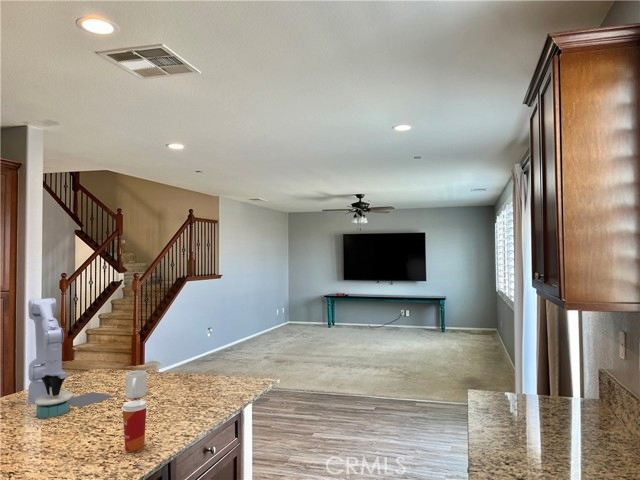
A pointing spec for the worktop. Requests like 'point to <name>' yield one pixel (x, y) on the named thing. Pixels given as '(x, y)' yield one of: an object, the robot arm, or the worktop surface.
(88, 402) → the mat
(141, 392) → the mug
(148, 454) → the worktop surface
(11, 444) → the worktop surface
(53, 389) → the robot arm
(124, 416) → the paper cup
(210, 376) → the worktop surface
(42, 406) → the bowl
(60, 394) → the lid
